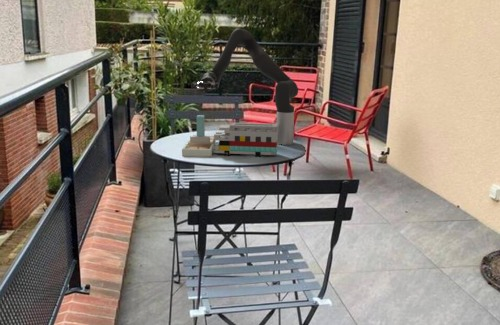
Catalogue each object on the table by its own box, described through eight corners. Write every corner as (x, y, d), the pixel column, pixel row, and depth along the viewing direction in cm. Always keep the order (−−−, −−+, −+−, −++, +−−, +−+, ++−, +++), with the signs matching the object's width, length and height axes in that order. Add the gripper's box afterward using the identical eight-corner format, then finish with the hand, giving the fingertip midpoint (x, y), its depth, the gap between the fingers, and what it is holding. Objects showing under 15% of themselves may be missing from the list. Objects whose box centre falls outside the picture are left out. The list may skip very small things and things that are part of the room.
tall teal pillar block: (191, 140, 252) (191, 115, 249) (211, 140, 252) (210, 115, 248) (190, 142, 248) (189, 116, 244) (209, 142, 247) (209, 116, 244)
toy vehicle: (216, 151, 246) (215, 121, 242) (276, 153, 243) (277, 123, 240) (213, 155, 238) (213, 124, 235) (276, 157, 236) (276, 126, 232)
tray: (185, 150, 247) (185, 144, 246) (213, 151, 247) (213, 144, 246) (182, 155, 237) (181, 149, 236) (211, 156, 236) (211, 149, 235)
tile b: (188, 148, 240) (188, 152, 241) (196, 148, 240) (196, 152, 241) (190, 146, 244) (190, 150, 245) (198, 146, 244) (198, 150, 245)
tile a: (198, 148, 240) (198, 152, 241) (206, 148, 240) (206, 152, 241) (199, 146, 244) (199, 150, 245) (207, 147, 244) (207, 151, 244)
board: (193, 142, 265) (193, 135, 264) (215, 143, 265) (215, 135, 264) (187, 150, 248) (187, 142, 247) (211, 150, 247) (211, 143, 246)
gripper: (194, 76, 271) (189, 79, 256) (220, 77, 271) (217, 79, 255) (194, 90, 273) (190, 93, 257) (220, 90, 273) (217, 94, 257)
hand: (203, 86), depth 256 cm, fingers open, 8 cm apart
